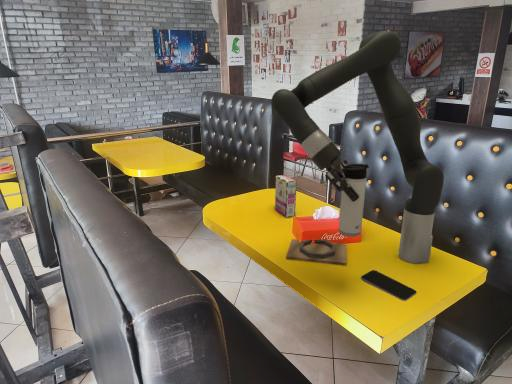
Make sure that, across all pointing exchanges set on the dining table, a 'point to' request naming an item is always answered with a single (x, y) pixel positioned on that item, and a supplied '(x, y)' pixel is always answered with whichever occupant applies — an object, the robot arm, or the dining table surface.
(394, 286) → the smartphone
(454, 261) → the dining table surface
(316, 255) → the mug holder board
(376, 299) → the dining table surface
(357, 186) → the travel mug
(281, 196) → the candy bar box
